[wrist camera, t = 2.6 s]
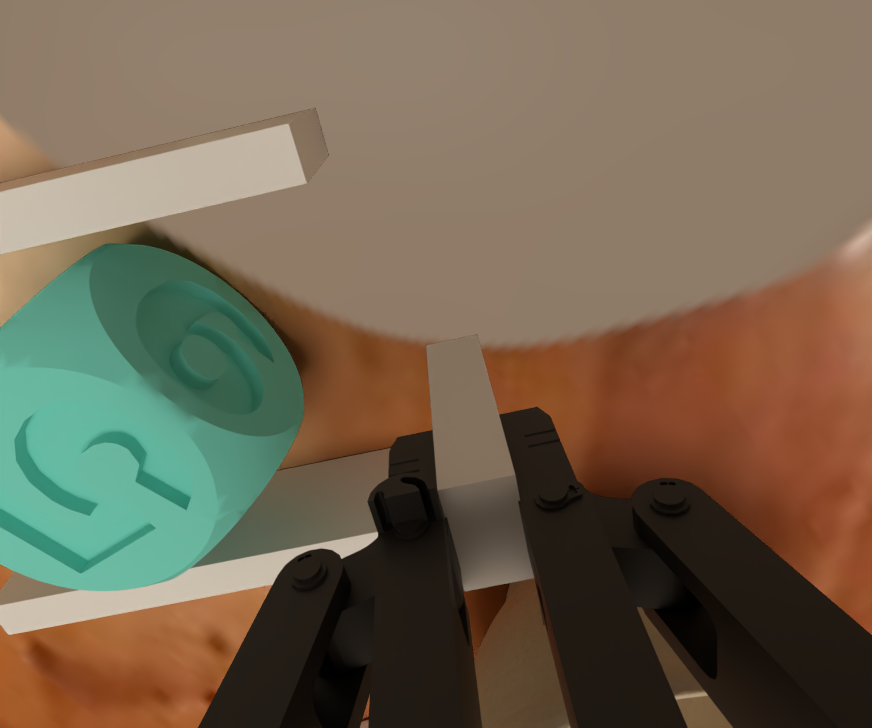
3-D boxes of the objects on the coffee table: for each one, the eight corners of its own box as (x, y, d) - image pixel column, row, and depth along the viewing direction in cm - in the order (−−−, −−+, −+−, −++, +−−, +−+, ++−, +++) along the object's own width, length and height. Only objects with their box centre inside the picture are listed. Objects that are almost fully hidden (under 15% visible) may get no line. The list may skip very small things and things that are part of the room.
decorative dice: (24, 355, 23) (-146, 489, 16) (150, 212, 21) (17, 294, 14) (195, 476, 26) (115, 634, 19) (321, 361, 24) (285, 492, 17)
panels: (315, 108, 20) (288, 123, 15) (418, 471, 26) (420, 556, 22) (-140, 216, 20) (-292, 261, 16) (73, 540, 27) (8, 634, 23)
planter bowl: (569, 402, 25) (671, 620, 15) (826, 548, 30) (1030, 788, 20) (376, 633, 31) (362, 896, 21) (615, 726, 35) (693, 978, 26)
